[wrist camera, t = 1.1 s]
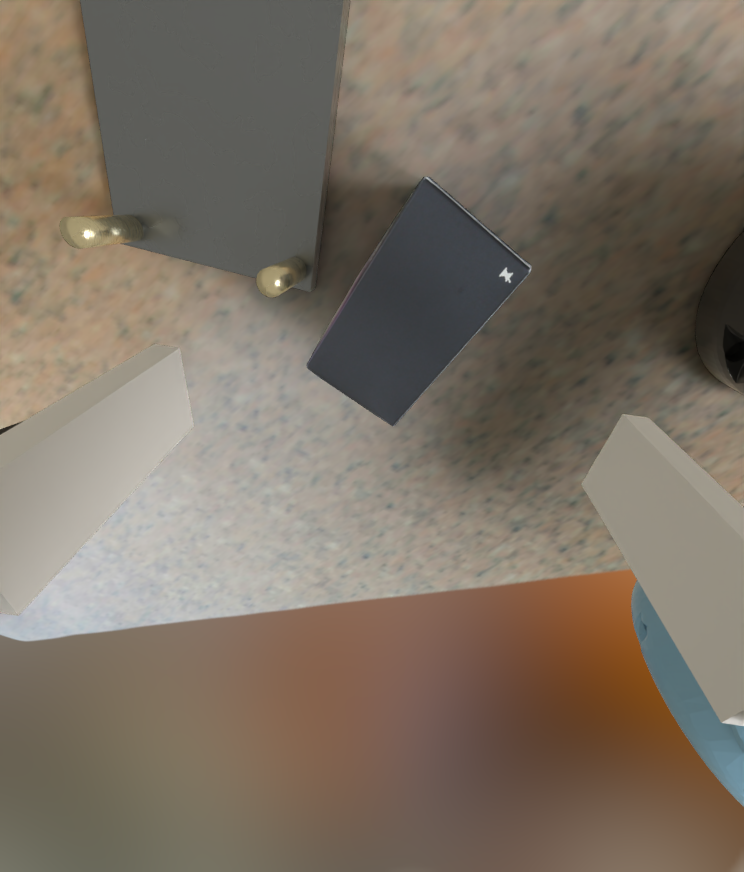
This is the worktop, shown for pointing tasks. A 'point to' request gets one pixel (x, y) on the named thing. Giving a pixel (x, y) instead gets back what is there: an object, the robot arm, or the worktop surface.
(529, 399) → the worktop surface
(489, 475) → the worktop surface
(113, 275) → the worktop surface
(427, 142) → the worktop surface
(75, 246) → the chassis
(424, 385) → the small box
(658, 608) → the robot arm
